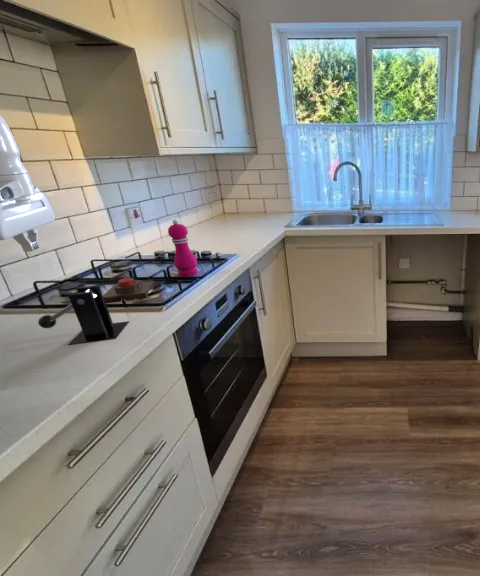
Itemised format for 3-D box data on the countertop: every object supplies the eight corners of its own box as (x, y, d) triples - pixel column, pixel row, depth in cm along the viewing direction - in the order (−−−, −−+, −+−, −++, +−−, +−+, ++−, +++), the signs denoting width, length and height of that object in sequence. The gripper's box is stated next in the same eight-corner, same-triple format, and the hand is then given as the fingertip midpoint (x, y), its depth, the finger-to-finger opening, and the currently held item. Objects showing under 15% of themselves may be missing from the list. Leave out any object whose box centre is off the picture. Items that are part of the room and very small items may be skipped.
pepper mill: (191, 278, 128) (177, 222, 120) (173, 277, 129) (157, 222, 121) (203, 271, 134) (191, 217, 126) (186, 270, 135) (172, 217, 127)
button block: (102, 304, 109) (98, 292, 107) (115, 291, 118) (111, 280, 116) (146, 299, 112) (143, 287, 110) (156, 287, 121) (153, 276, 119)
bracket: (69, 348, 86) (48, 300, 81) (87, 330, 94) (69, 285, 89) (117, 342, 88) (99, 294, 83) (130, 325, 96) (115, 280, 91)
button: (117, 288, 111) (115, 283, 110) (122, 283, 115) (120, 278, 114) (132, 286, 112) (130, 281, 111) (136, 281, 116) (135, 276, 115)
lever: (43, 333, 86) (31, 323, 85) (51, 326, 89) (39, 317, 87) (94, 301, 86) (82, 291, 85) (100, 295, 89) (88, 286, 88)
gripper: (19, 183, 86) (42, 239, 92) (-50, 196, 68) (-16, 265, 74) (50, 182, 88) (71, 237, 93) (-10, 194, 70) (20, 262, 75)
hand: (32, 249), depth 83 cm, fingers closed
